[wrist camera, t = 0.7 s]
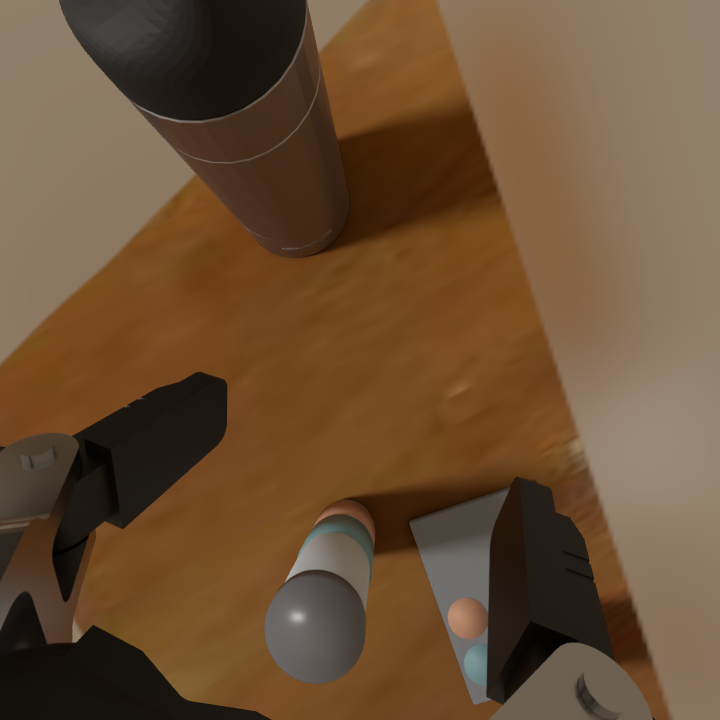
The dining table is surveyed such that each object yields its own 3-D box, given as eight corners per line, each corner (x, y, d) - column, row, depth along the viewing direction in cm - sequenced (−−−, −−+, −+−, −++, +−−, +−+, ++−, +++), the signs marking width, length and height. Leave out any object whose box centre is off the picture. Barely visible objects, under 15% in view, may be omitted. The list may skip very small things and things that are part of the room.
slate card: (408, 521, 31) (409, 523, 31) (528, 480, 31) (531, 482, 30) (471, 698, 30) (473, 705, 29) (597, 659, 29) (602, 665, 29)
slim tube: (309, 509, 32) (251, 595, 19) (364, 490, 32) (345, 563, 18) (328, 567, 31) (283, 697, 18) (384, 548, 31) (379, 666, 18)
